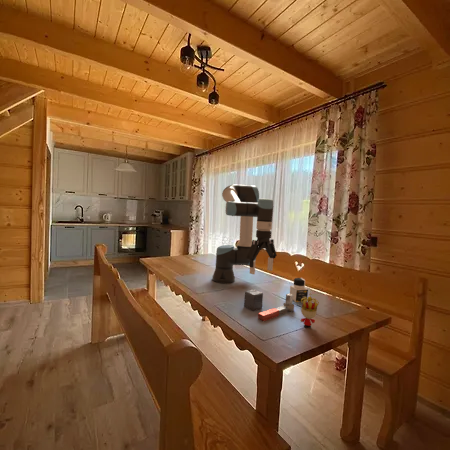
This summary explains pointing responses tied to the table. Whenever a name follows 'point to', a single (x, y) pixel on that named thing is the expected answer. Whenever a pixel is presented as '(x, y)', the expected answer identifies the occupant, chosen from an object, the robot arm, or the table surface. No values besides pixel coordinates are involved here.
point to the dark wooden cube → (253, 299)
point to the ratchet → (278, 309)
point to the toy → (308, 310)
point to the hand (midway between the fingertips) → (261, 272)
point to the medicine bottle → (298, 290)
